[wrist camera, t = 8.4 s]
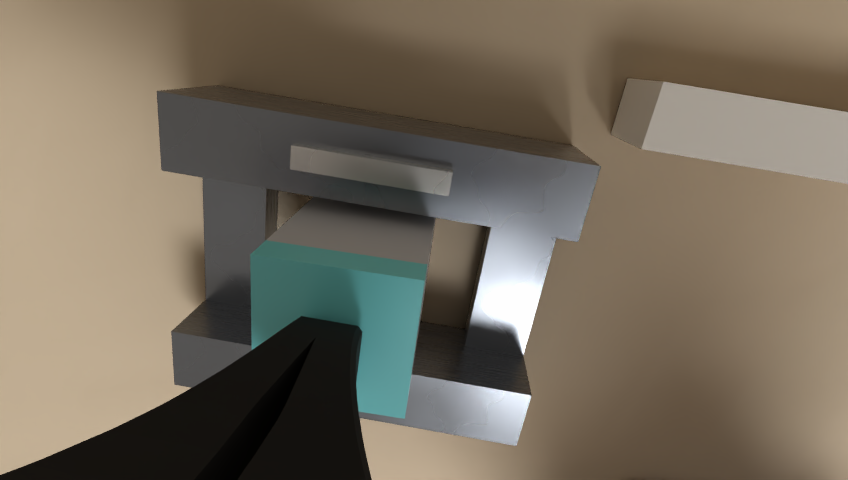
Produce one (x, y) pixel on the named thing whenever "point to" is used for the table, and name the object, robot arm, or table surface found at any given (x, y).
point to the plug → (350, 287)
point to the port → (389, 189)
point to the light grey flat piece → (734, 129)
